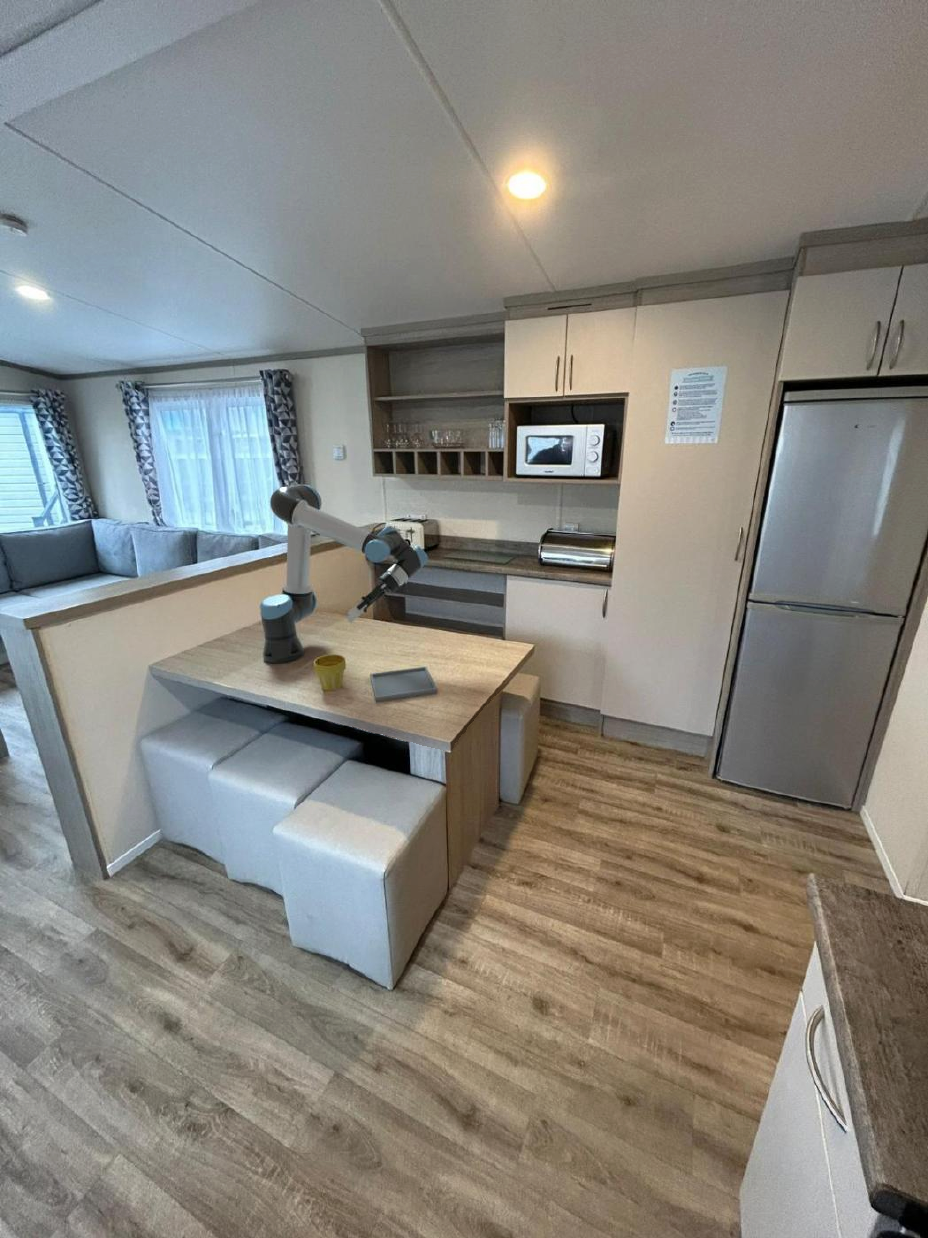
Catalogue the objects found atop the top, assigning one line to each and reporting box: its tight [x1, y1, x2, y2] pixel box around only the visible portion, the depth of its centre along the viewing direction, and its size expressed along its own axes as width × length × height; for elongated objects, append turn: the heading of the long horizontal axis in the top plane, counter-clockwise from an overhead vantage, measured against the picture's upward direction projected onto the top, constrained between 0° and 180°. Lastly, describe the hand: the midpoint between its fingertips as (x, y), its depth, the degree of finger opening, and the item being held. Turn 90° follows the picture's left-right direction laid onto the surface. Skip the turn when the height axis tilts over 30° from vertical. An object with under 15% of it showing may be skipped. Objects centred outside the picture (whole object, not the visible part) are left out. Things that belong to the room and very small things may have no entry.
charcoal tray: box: [369, 666, 438, 704], centre depth 164 cm, size 20×18×2 cm
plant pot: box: [313, 654, 347, 692], centre depth 163 cm, size 10×10×10 cm
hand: (349, 618), depth 171 cm, fingers open, 13 cm apart
